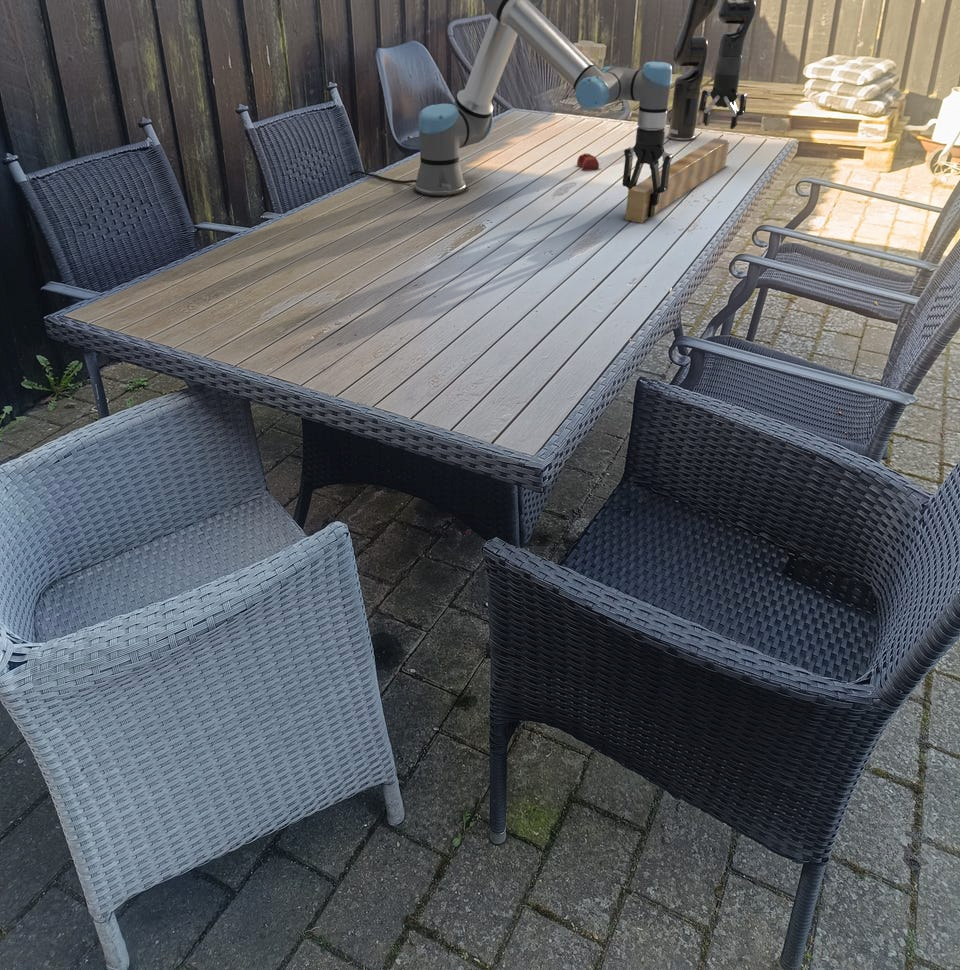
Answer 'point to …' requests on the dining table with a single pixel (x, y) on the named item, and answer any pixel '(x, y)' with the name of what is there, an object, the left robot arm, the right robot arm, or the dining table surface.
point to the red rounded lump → (588, 161)
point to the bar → (678, 179)
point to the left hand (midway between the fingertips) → (641, 214)
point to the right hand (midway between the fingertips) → (719, 127)
